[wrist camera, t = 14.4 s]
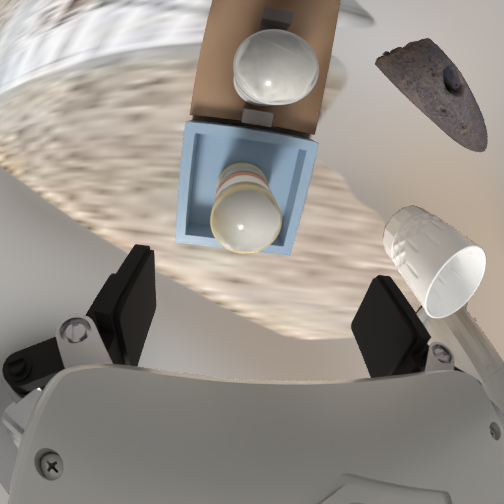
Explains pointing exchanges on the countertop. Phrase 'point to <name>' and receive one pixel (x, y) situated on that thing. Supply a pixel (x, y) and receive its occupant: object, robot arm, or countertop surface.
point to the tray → (233, 150)
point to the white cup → (434, 260)
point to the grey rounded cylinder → (274, 68)
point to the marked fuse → (244, 209)
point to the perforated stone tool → (436, 90)
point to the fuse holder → (241, 27)
